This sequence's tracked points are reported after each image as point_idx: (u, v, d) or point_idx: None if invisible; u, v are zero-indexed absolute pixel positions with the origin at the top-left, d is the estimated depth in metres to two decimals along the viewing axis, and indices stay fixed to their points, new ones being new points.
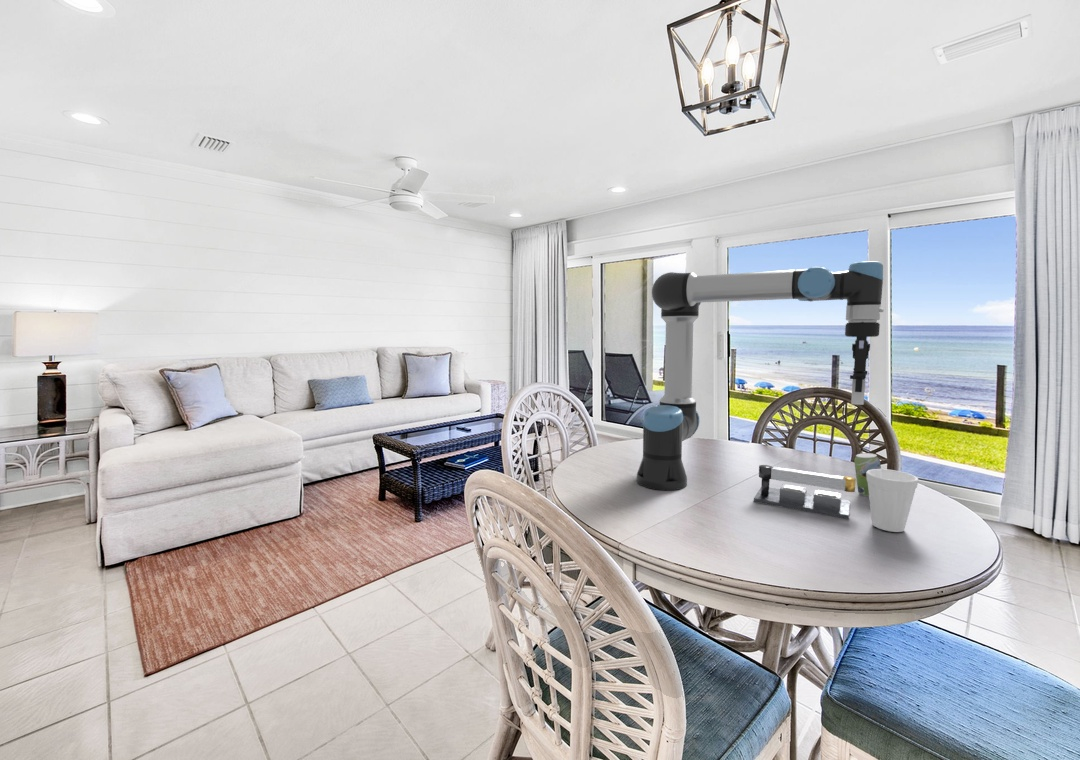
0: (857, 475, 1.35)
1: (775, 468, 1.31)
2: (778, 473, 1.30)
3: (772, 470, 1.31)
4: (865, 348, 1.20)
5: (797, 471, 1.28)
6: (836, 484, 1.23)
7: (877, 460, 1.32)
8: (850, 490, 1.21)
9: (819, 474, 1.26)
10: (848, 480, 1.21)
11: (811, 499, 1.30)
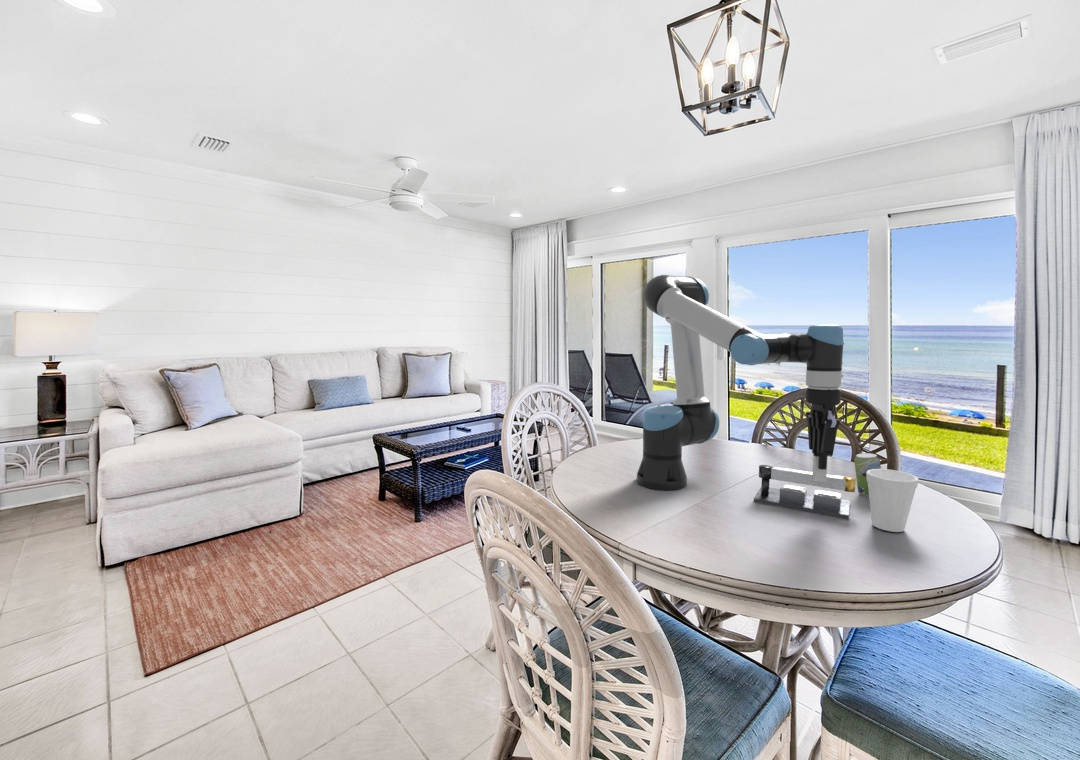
0: (857, 475, 1.35)
1: (775, 468, 1.31)
2: (778, 473, 1.30)
3: (772, 470, 1.31)
4: (836, 428, 1.13)
5: (797, 471, 1.28)
6: (836, 484, 1.23)
7: (877, 460, 1.32)
8: (850, 490, 1.21)
9: None
10: (848, 480, 1.21)
11: (811, 499, 1.30)
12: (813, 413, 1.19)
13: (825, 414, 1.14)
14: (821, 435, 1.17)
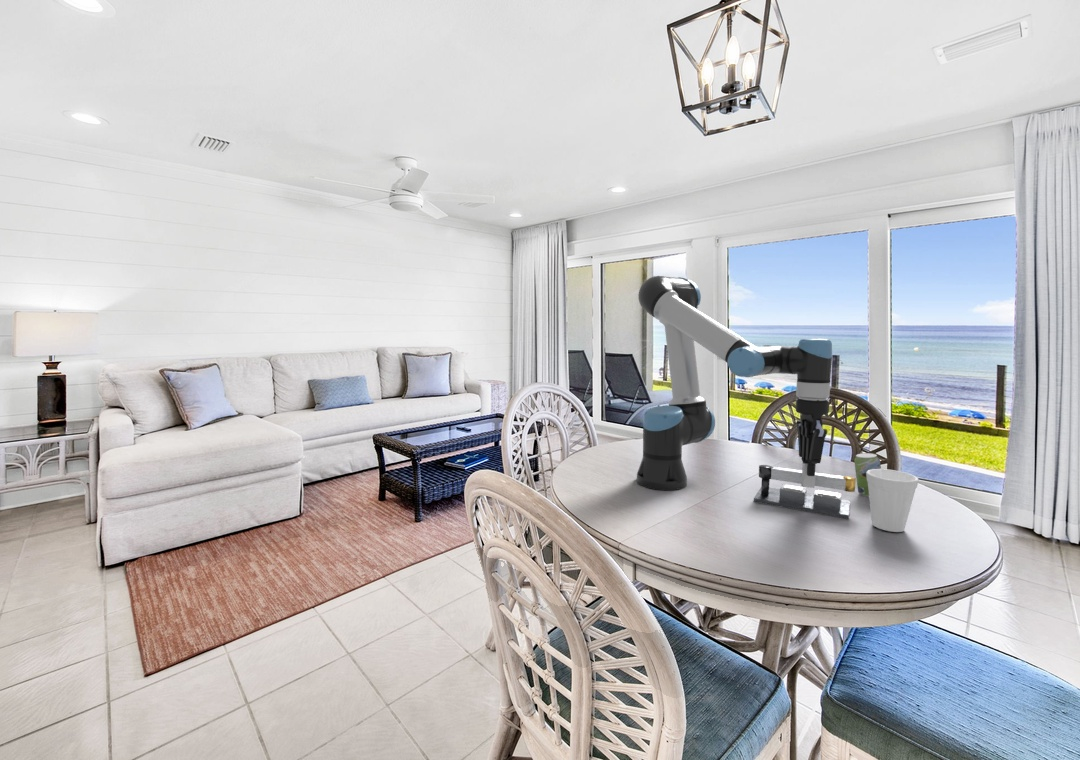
0: (857, 475, 1.35)
1: (775, 468, 1.31)
2: (778, 473, 1.30)
3: (772, 470, 1.31)
4: (823, 437, 1.19)
5: (797, 471, 1.28)
6: (836, 484, 1.23)
7: (877, 460, 1.32)
8: (850, 490, 1.21)
9: (819, 474, 1.26)
10: (848, 480, 1.21)
11: (811, 499, 1.30)
12: (803, 422, 1.25)
13: (813, 424, 1.20)
14: (810, 443, 1.22)
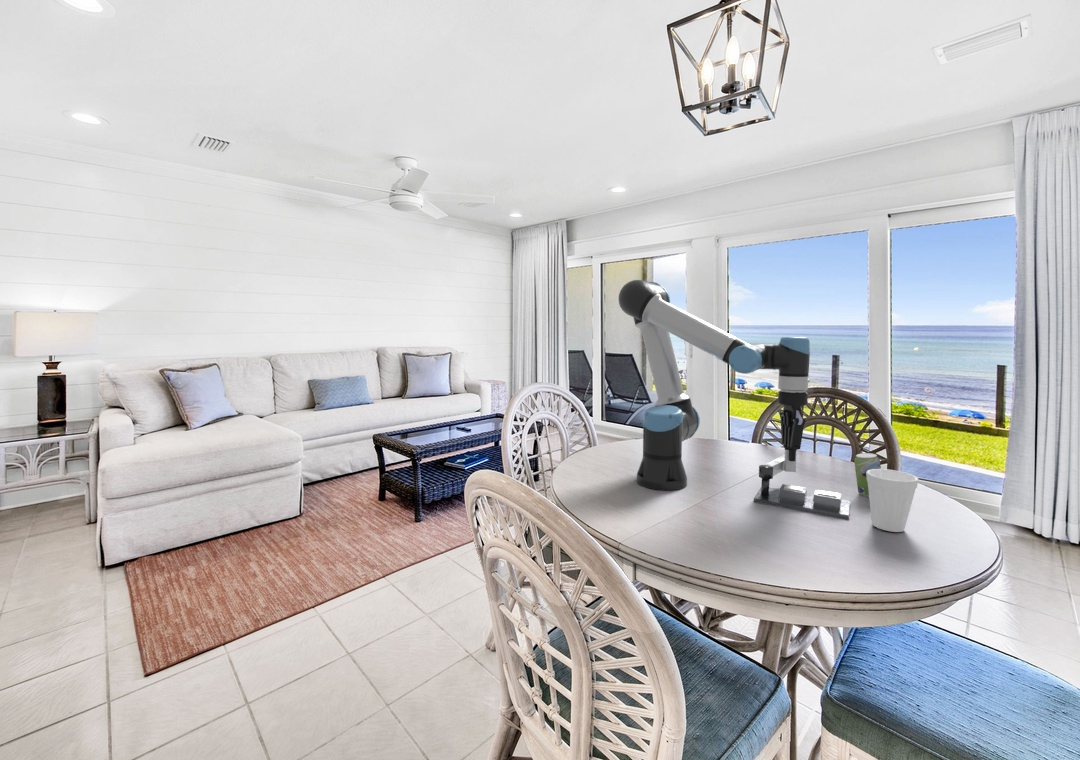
0: (857, 475, 1.35)
1: (770, 465, 1.34)
2: (774, 469, 1.34)
3: (773, 467, 1.33)
4: (802, 425, 1.32)
5: (777, 461, 1.38)
6: None
7: (877, 460, 1.32)
8: None
9: (783, 457, 1.42)
10: None
11: (811, 499, 1.30)
12: (784, 413, 1.38)
13: (793, 413, 1.33)
14: (791, 431, 1.35)
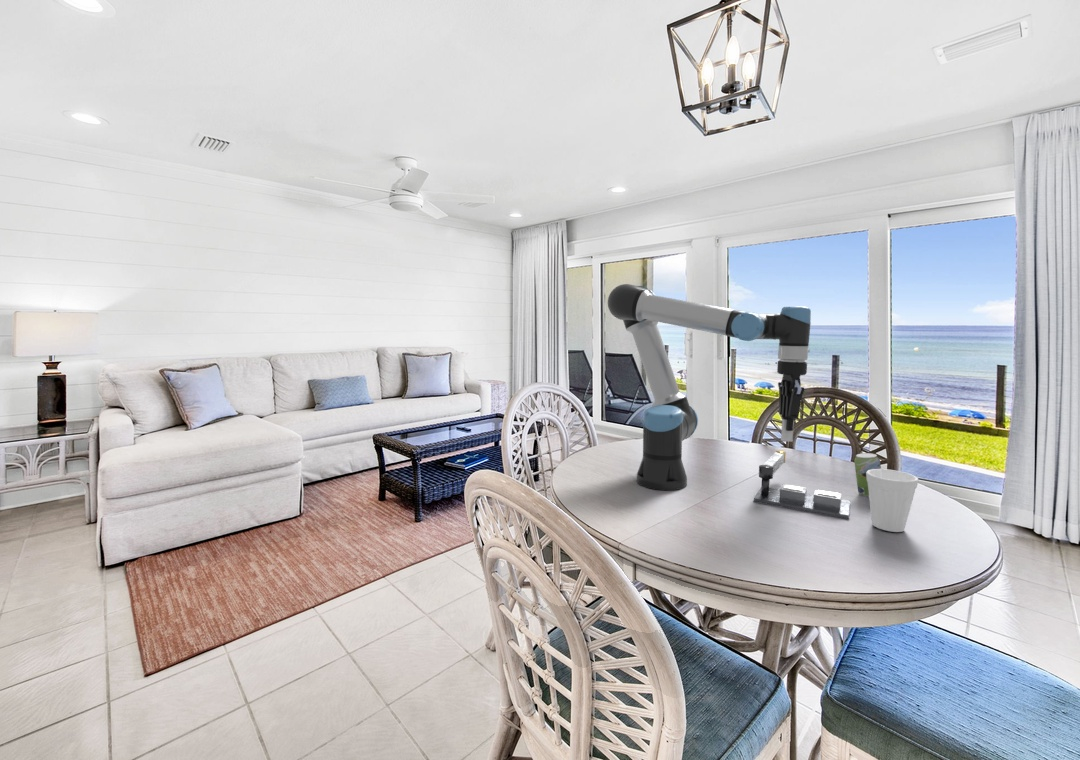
0: (857, 475, 1.35)
1: (769, 465, 1.35)
2: (773, 468, 1.35)
3: None
4: (801, 394, 1.32)
5: (773, 460, 1.39)
6: (782, 460, 1.46)
7: (877, 460, 1.32)
8: None
9: (776, 456, 1.43)
10: (785, 453, 1.47)
11: (811, 499, 1.30)
12: (783, 382, 1.38)
13: (792, 383, 1.33)
14: (789, 401, 1.36)
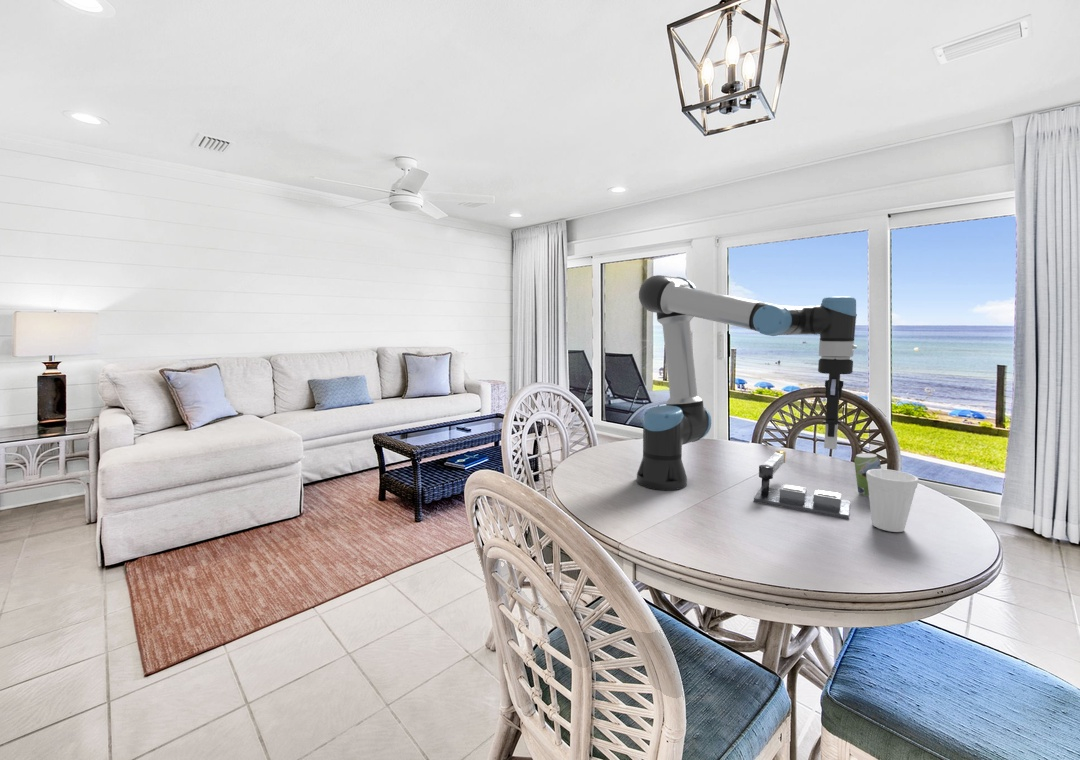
0: (857, 475, 1.35)
1: (769, 465, 1.35)
2: (773, 468, 1.35)
3: None
4: (836, 395, 1.17)
5: (773, 460, 1.39)
6: (782, 460, 1.46)
7: (877, 460, 1.32)
8: None
9: (776, 456, 1.43)
10: (785, 453, 1.47)
11: (811, 499, 1.30)
12: None
13: (829, 382, 1.19)
14: None
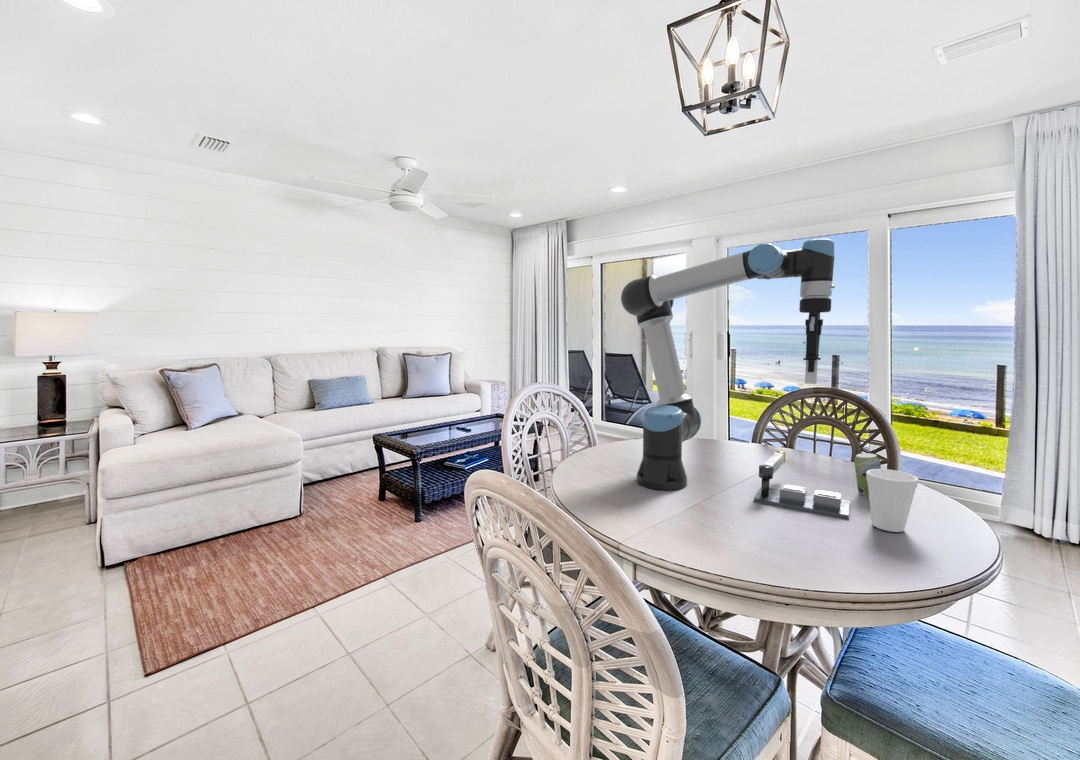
0: (857, 475, 1.35)
1: (769, 465, 1.35)
2: (773, 468, 1.35)
3: None
4: (815, 331, 1.26)
5: (773, 460, 1.39)
6: (782, 460, 1.46)
7: (877, 460, 1.32)
8: None
9: (776, 456, 1.43)
10: (785, 453, 1.47)
11: (811, 499, 1.30)
12: None
13: (808, 320, 1.28)
14: None
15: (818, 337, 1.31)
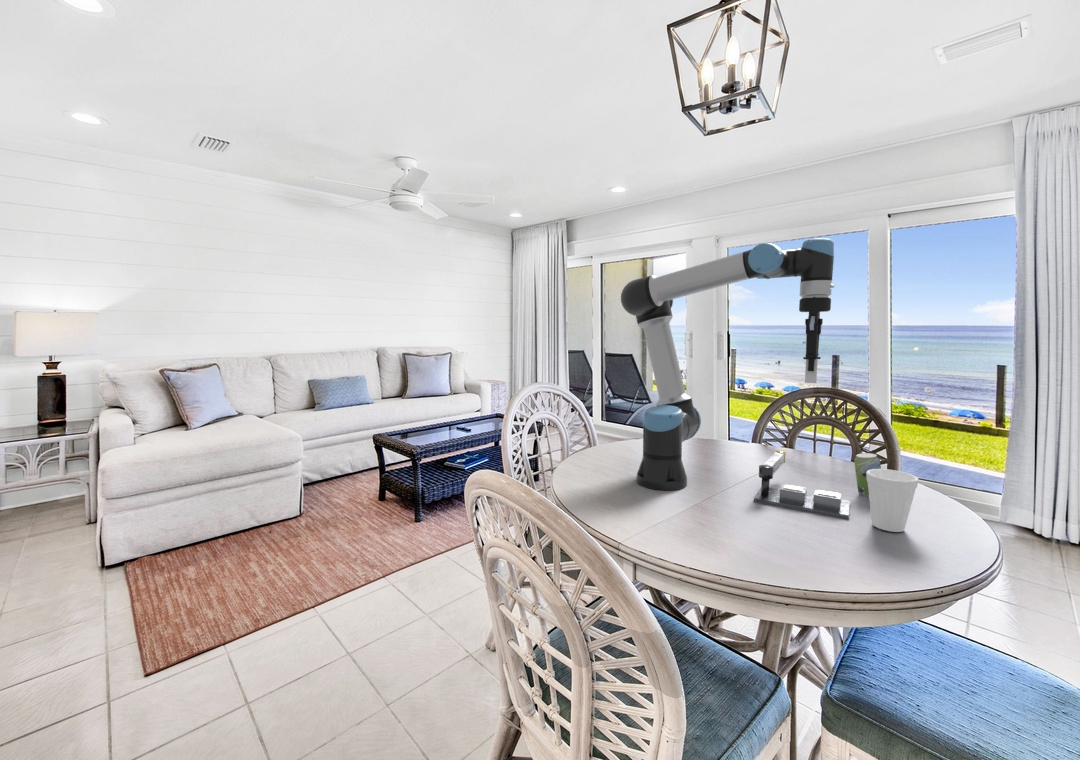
0: (857, 475, 1.35)
1: (769, 465, 1.35)
2: (773, 468, 1.35)
3: None
4: (815, 330, 1.26)
5: (773, 460, 1.39)
6: (782, 460, 1.46)
7: (877, 460, 1.32)
8: None
9: (776, 456, 1.43)
10: (785, 453, 1.47)
11: (811, 499, 1.30)
12: None
13: (808, 319, 1.28)
14: None
15: (818, 336, 1.31)
